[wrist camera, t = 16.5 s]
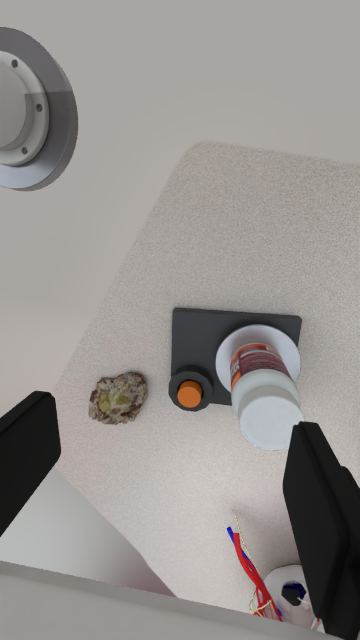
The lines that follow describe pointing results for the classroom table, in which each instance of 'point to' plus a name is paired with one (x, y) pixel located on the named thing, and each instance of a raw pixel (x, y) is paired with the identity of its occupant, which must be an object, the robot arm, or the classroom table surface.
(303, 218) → the classroom table surface
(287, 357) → the weighing pan
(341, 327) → the classroom table surface
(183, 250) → the classroom table surface
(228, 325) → the scale
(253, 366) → the pill bottle
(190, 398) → the tare button
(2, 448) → the robot arm
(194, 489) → the classroom table surface
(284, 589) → the anatomical skull model
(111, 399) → the mineral rock
